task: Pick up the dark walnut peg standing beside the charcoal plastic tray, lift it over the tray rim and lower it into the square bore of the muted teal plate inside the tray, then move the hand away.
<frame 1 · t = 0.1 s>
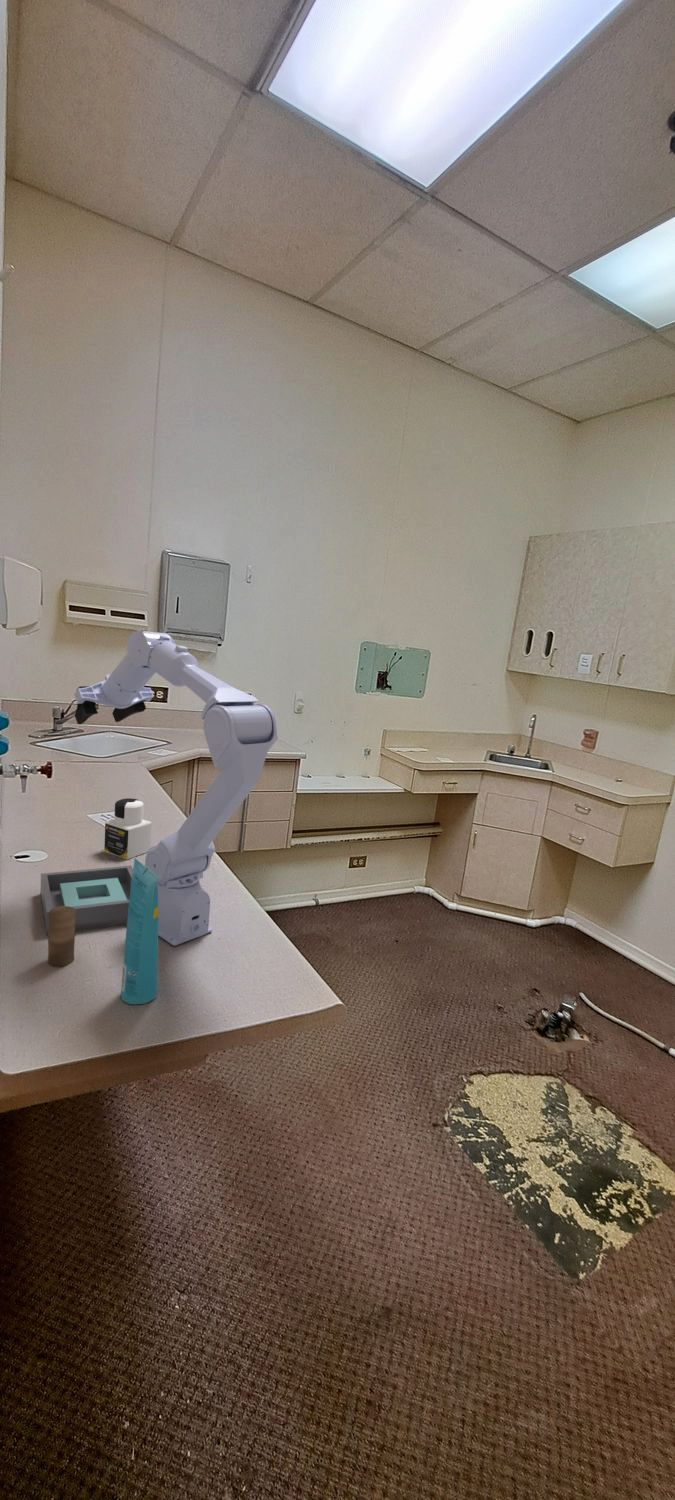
hand: (97, 718, 115), 32 cm above the counter, tool tilted 50°, fingers open, 7 cm apart
peg: (61, 960, 91), on the counter
tube: (139, 995, 85), on the counter
medicine bottle: (127, 852, 135), on the counter
tray: (92, 907, 108), on the counter
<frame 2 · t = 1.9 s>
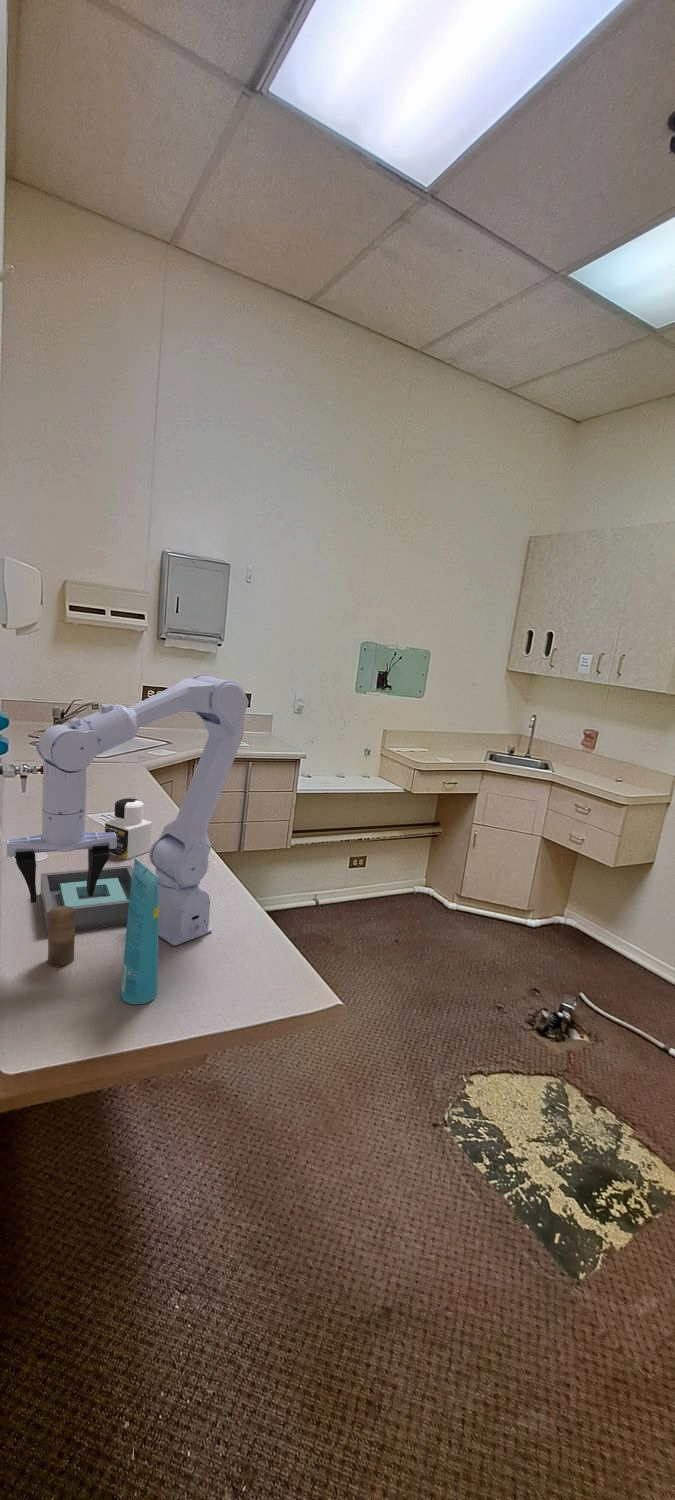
hand: (62, 896, 89), 10 cm above the counter, tool pointing down, fingers open, 7 cm apart
nothing on the counter moved.
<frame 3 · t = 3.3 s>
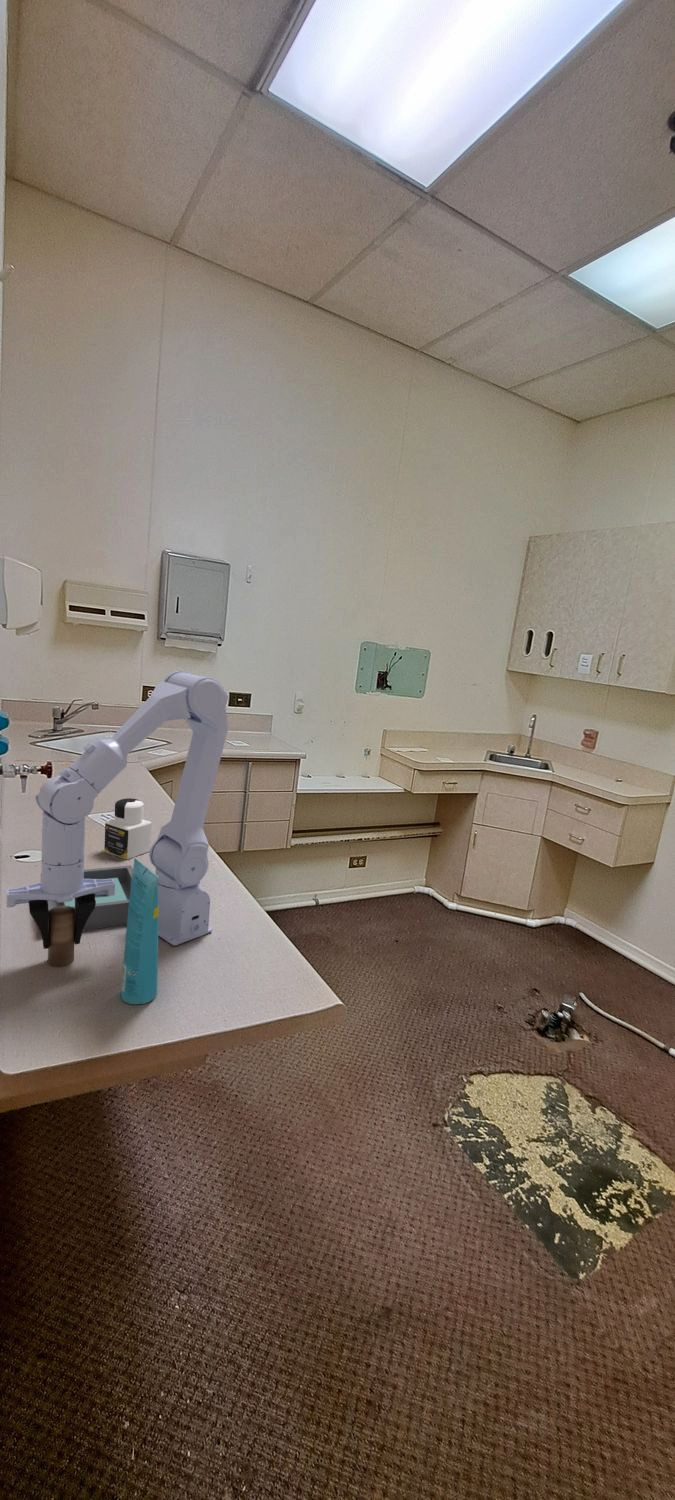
hand: (61, 943, 91), 3 cm above the counter, tool pointing down, fingers closed on peg, 4 cm apart
peg: (61, 960, 91), on the counter, touching gripper
everything else where it was.
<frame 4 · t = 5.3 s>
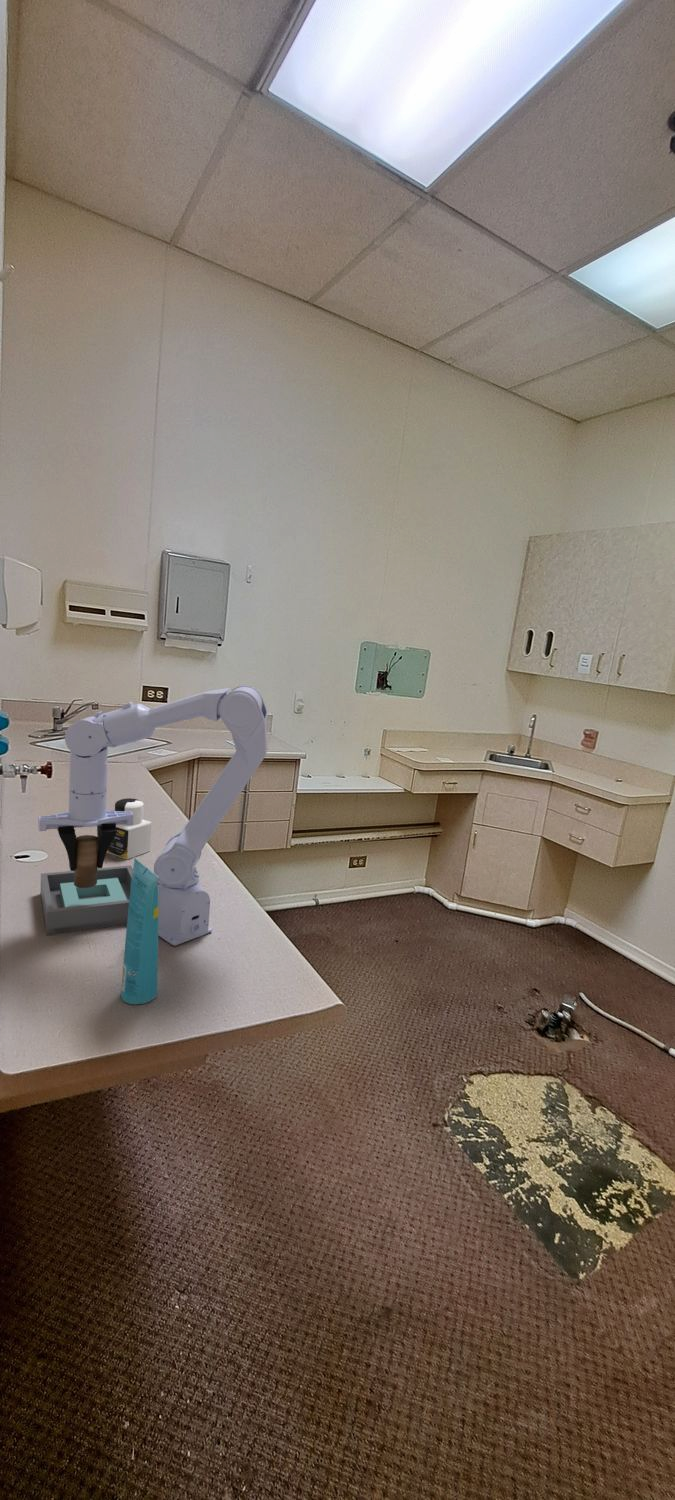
hand: (85, 867, 102), 10 cm above the counter, tool pointing down, fingers closed on peg, 4 cm apart
peg: (85, 883, 102), point 7 cm above the counter, touching gripper
everything else where it was.
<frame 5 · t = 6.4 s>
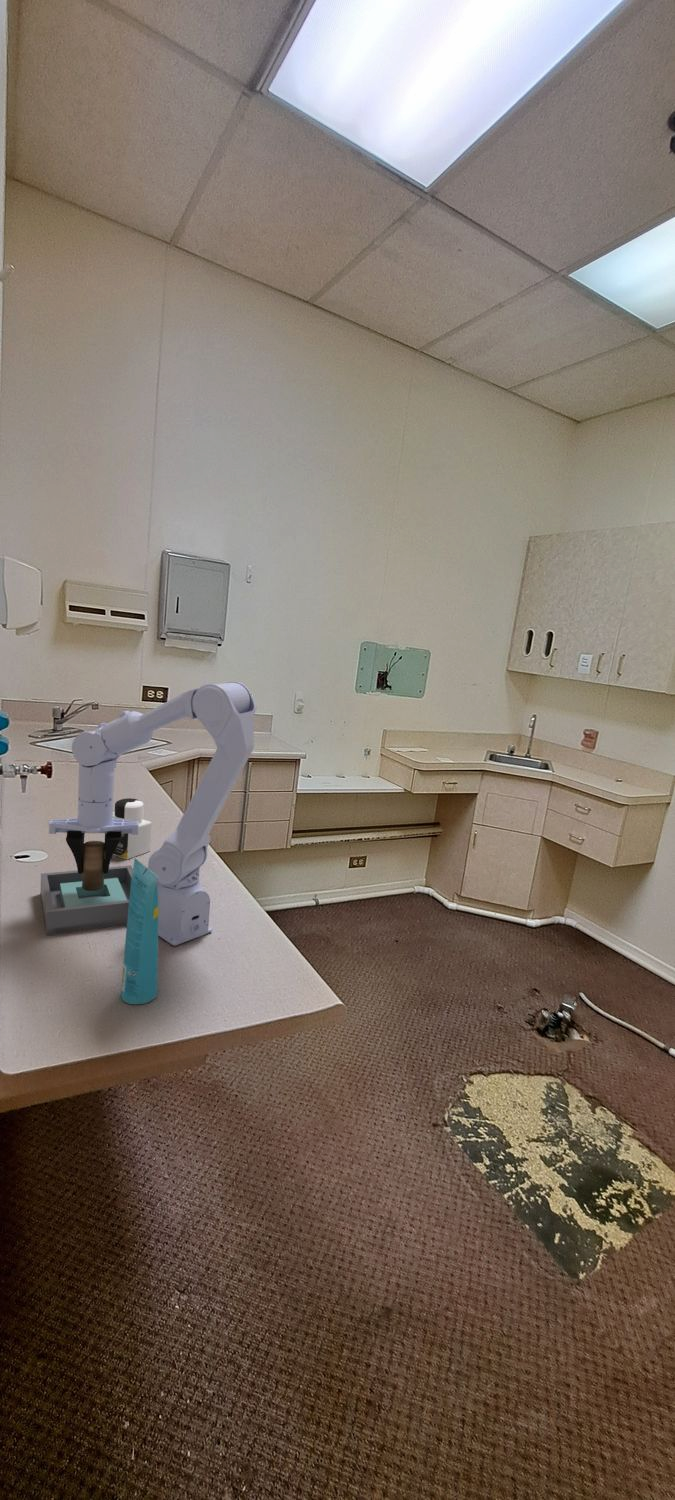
hand: (93, 871, 107), 7 cm above the counter, tool pointing down, fingers closed on peg, 4 cm apart
peg: (93, 886, 107), point 4 cm above the counter, touching gripper
everything else where it was.
when the fingers open (5 cm above the counter, at t = 7.2 s): peg stays where it is, resting on tray.
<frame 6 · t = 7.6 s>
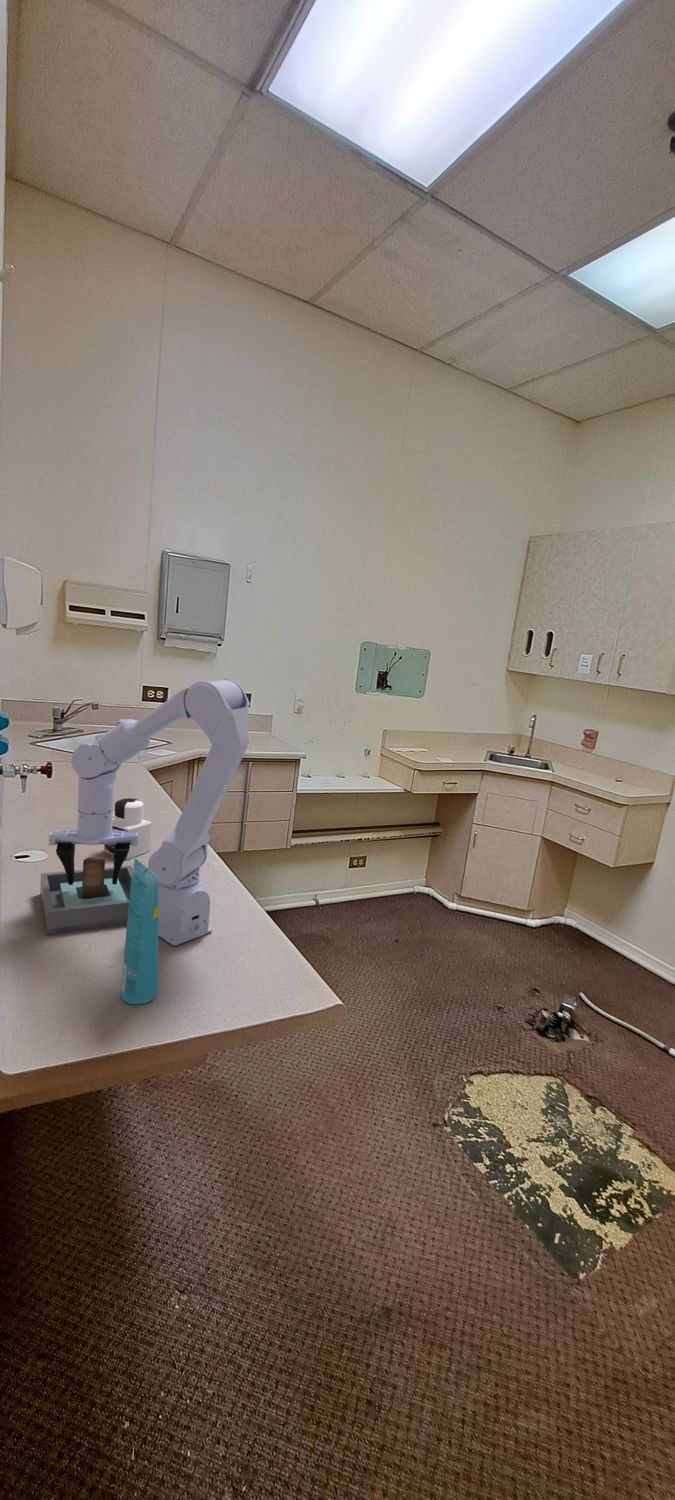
hand: (93, 882, 107), 5 cm above the counter, tool pointing down, fingers open, 7 cm apart
peg: (92, 902, 108), point 1 cm above the counter, touching tray
everything else where it was.
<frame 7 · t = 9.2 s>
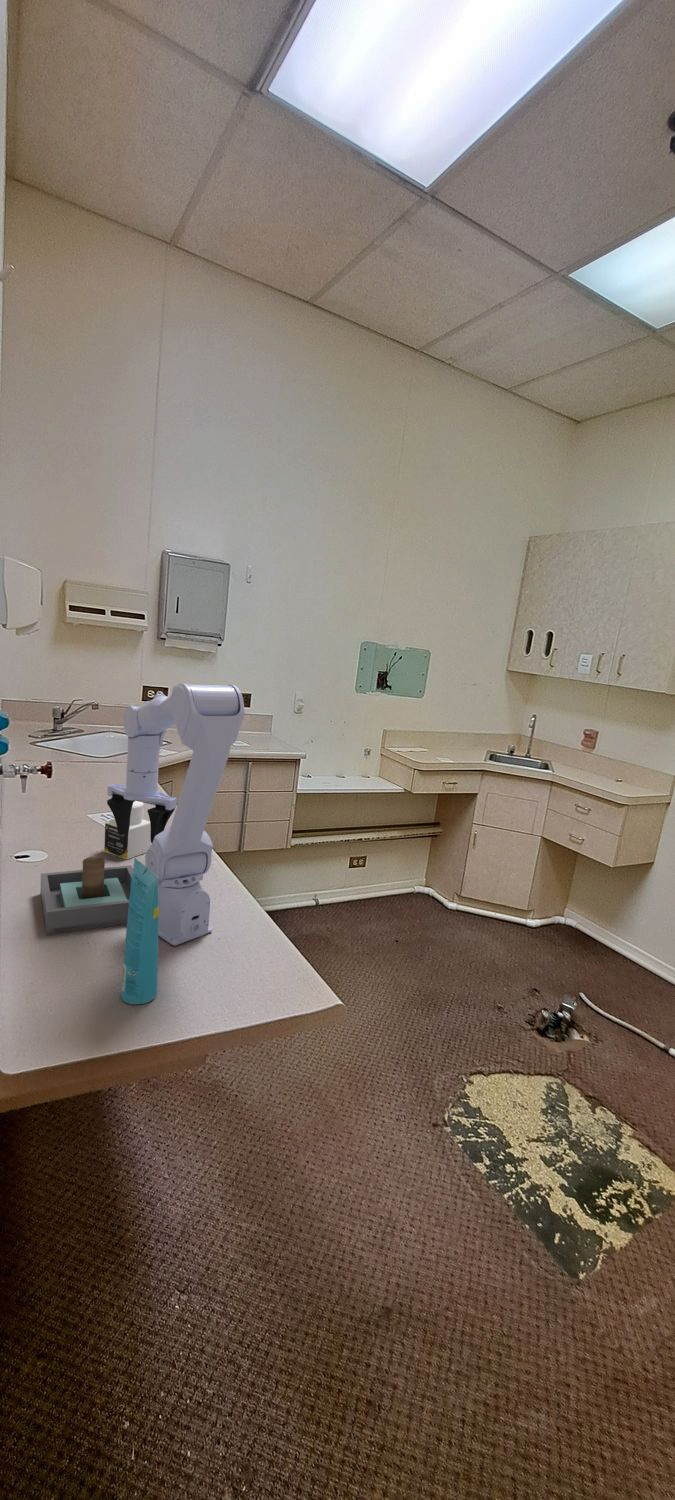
hand: (139, 837, 116), 10 cm above the counter, tool pointing down, fingers open, 7 cm apart
nothing on the counter moved.
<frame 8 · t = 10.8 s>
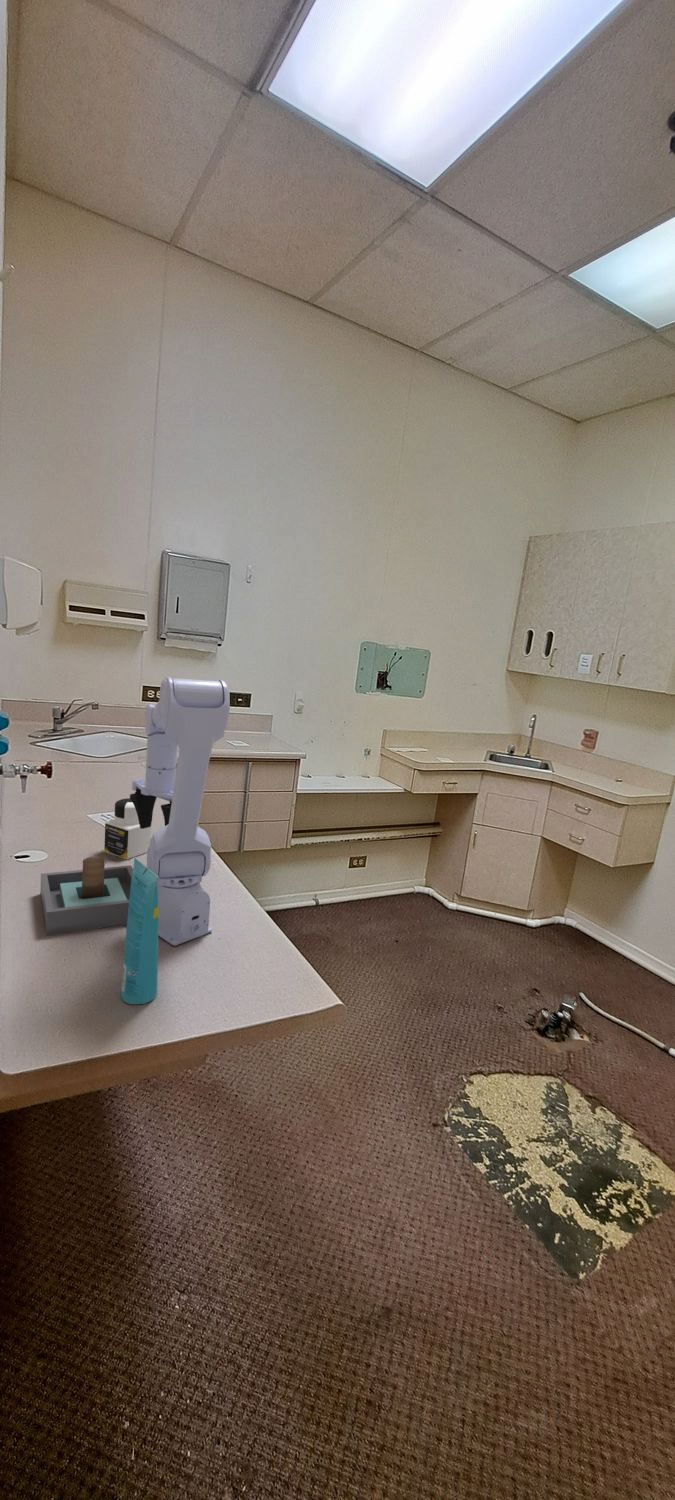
hand: (157, 832, 120), 10 cm above the counter, tool pointing down, fingers open, 7 cm apart
nothing on the counter moved.
at the end: peg 0.1 cm off-centre on the tray, point 1.0 cm above the tray's base; peg tilted 1°; the gripper is holding nothing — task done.
